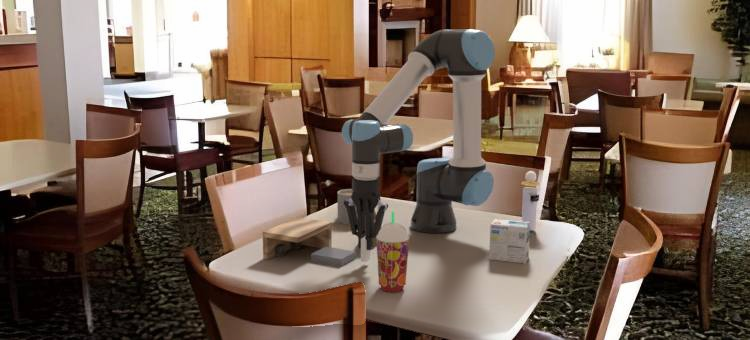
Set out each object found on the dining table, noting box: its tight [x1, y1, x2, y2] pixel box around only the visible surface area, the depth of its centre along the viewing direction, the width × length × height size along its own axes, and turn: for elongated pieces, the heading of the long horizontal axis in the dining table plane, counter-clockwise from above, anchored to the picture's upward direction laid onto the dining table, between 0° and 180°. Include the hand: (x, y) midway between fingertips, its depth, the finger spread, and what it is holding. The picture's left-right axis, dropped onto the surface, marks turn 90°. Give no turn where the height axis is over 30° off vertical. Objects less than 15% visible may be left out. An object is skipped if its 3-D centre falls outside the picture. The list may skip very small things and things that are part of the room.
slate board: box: [310, 246, 357, 267], centre depth 206 cm, size 10×8×2 cm
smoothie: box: [376, 211, 410, 293], centre depth 182 cm, size 8×8×20 cm
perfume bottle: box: [521, 170, 541, 232], centre depth 235 cm, size 6×6×20 cm
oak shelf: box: [262, 216, 333, 260], centre depth 211 cm, size 12×18×8 cm, turn 153°
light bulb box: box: [488, 218, 531, 264], centre depth 207 cm, size 11×7×11 cm, turn 71°
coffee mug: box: [337, 188, 358, 225], centre depth 249 cm, size 13×10×10 cm
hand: (365, 260), depth 201 cm, fingers closed
